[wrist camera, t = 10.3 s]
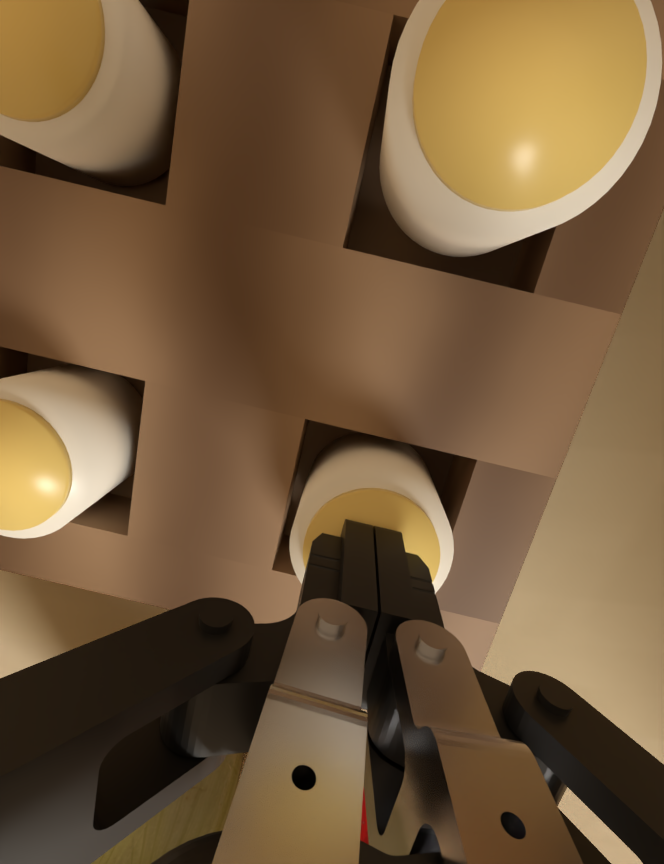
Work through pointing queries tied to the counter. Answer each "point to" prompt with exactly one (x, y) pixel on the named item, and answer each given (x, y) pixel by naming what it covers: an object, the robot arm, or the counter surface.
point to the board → (302, 319)
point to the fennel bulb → (181, 818)
